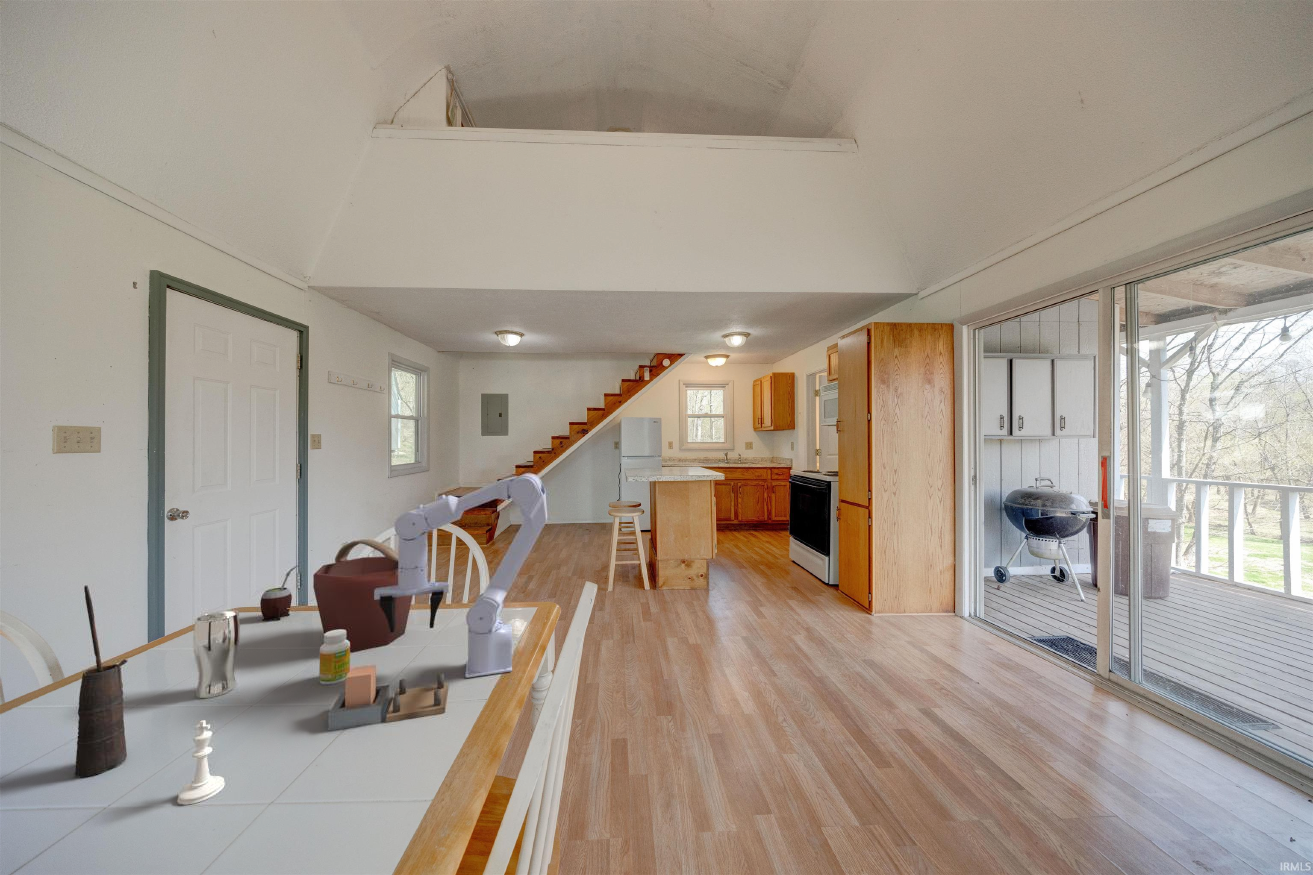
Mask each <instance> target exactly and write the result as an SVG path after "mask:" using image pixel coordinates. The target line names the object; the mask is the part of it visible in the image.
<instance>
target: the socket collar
mask: <svg viewBox="0 0 1313 875" xmlns="http://www.w3.org/2000/svg"><path fill="white" fill-rule="evenodd" d="M390 685H391V684H384V685H383V684H382V685H378V686H377V685H376V694H375V703H373V704H366V705H359V706H353V707H346V708H345V690H342V691H341V692H340V693H339V695H338V697H337V698H336V701H335V702H334V704H333V706H332V707H331V709H330V710H329V712H328V732H329V731H335V730H341V729H342V730H344V729H348V728H355V727H360V726H367V725H368V726H369V725H373V724H379V723H382V721H383V718H384V715H385V713H386V711H387V708H388V706H389V703H390Z"/></svg>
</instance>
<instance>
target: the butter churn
mask: <svg viewBox="0 0 1313 875" xmlns="http://www.w3.org/2000/svg"><path fill="white" fill-rule="evenodd" d="M83 590H84V598H85V605H86V610H87V615H88V622H89V627H90V633H91V640H92V646H93V651H94V652H93V653H94V656H95V664H96V667H94V668H89V669H87V670H86V671H84V672H83V673H82V677H81V683H80V689H79V695H78V710H77V715H78V721H77V724H78V725H77V730H78V731H77V741H76V753H75V755H76V756H75V771H74V772H75V773H74V774H75V776H76V777H78V778H85V777H86V778H87V777H90V776H93V775H97V774H102V773H104V772H106V771H108V770H110V769H114V768H116V767H118V766H120V765H121V764H123V763H124V762H125V761H126V759H127V757H128V755H127V743H126V736H125V734H126V733H125V731H126V730H125V723H124V720H125V719H124V697H123V696H124V690H123V687H124V686H123V685H124V684H123V680H122V678H123V677H122V668H121V667H122V666H123V665H125V664H127V662H128V659H123V660H121V661H120V662H119V663H115V664H108V665H103V663H102V660H101V651H100V646H99V640H98V635H97V629H96V621H95V613H94V612H95V611H94V607H93V601H92V598H91V594H90V589H89V586H88V585H87V584H86V585H84V588H83Z"/></svg>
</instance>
